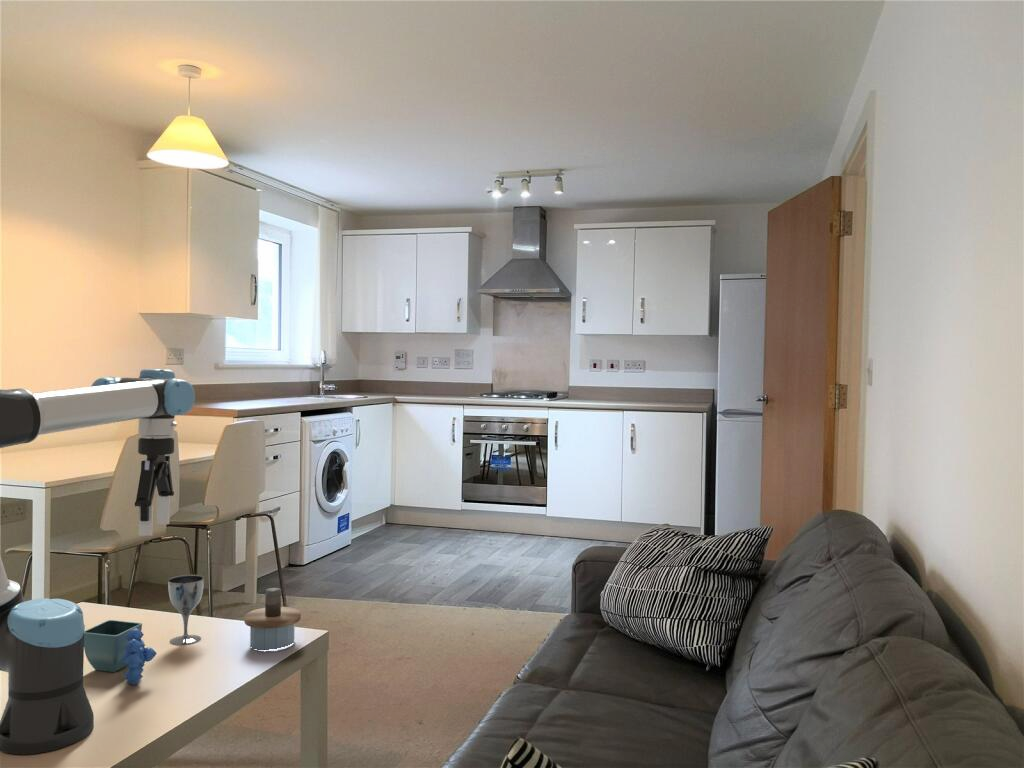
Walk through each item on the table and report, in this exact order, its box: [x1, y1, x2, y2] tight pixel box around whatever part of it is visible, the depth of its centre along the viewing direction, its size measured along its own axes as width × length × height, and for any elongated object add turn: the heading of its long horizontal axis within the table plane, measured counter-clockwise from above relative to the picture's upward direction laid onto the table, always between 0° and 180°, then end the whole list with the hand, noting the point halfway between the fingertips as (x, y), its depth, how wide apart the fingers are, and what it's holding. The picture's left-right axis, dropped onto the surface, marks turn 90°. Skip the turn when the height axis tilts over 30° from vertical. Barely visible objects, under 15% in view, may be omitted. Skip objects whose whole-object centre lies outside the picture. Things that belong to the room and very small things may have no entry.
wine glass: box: [167, 574, 205, 646], centre depth 192 cm, size 8×8×15 cm
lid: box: [244, 587, 302, 629], centre depth 190 cm, size 13×13×7 cm
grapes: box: [122, 628, 157, 686], centre depth 166 cm, size 12×7×12 cm, turn 22°
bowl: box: [249, 623, 296, 650], centre depth 190 cm, size 10×10×6 cm
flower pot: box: [84, 619, 143, 673], centre depth 174 cm, size 9×9×9 cm
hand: (154, 529), depth 180 cm, fingers open, 13 cm apart
